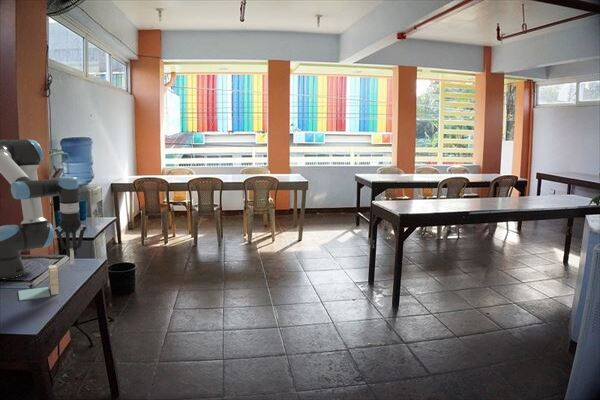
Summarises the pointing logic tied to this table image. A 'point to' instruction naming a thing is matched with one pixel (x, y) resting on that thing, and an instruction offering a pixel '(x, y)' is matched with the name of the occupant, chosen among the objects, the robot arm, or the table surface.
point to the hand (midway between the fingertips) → (72, 263)
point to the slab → (53, 279)
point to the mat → (33, 293)
